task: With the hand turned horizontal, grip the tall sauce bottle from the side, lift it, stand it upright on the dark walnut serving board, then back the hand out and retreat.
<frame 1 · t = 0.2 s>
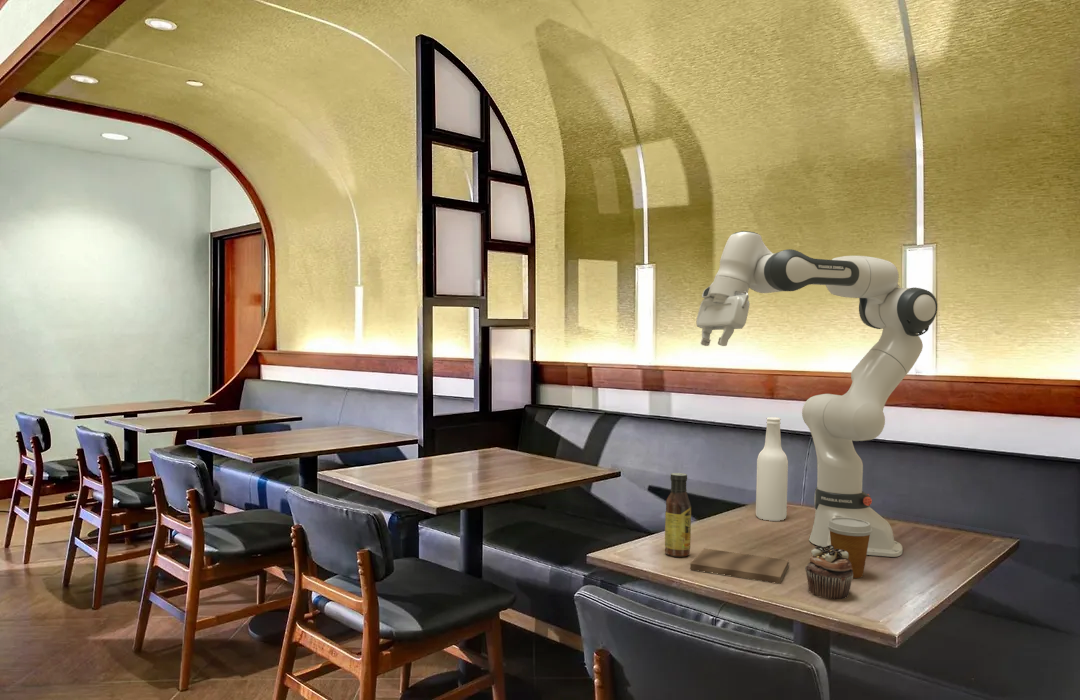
hand: (712, 345, 189), 52 cm above the table, tool tilted 15°, fingers open, 8 cm apart
walnut board: (740, 568, 177), on the table
alcohol: (770, 518, 227), on the table
cupcake: (828, 593, 162), on the table
sauce bottle: (677, 554, 188), on the table
disposable coffee cup: (848, 574, 175), on the table
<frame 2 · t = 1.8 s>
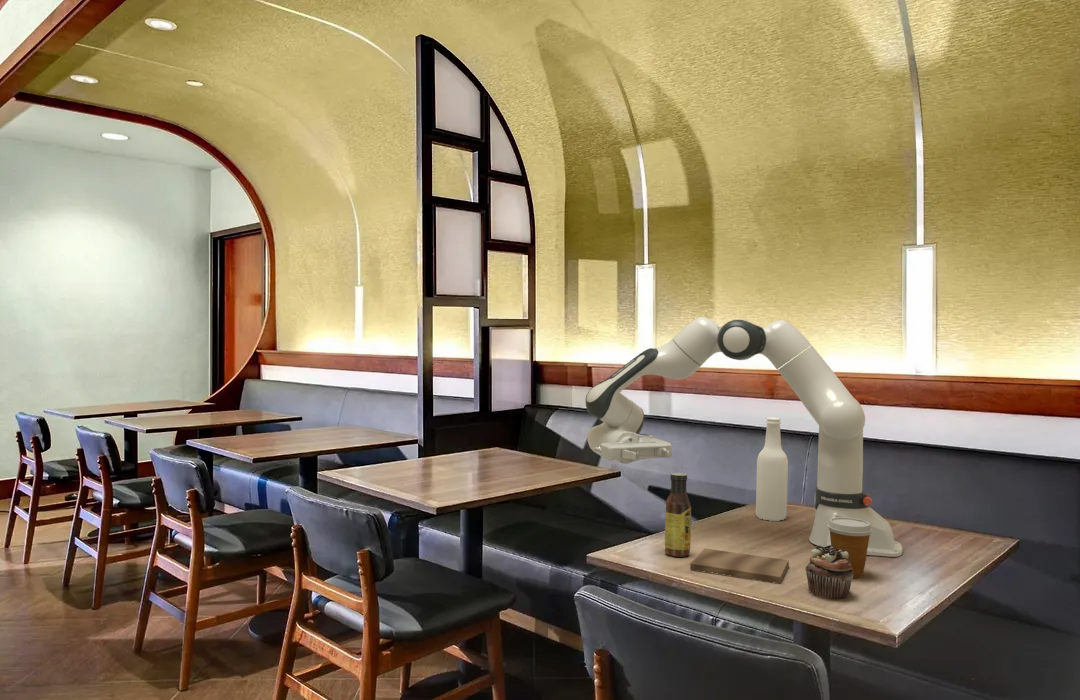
hand: (652, 455, 198), 23 cm above the table, tool horizontal, fingers open, 8 cm apart
nothing on the table moved.
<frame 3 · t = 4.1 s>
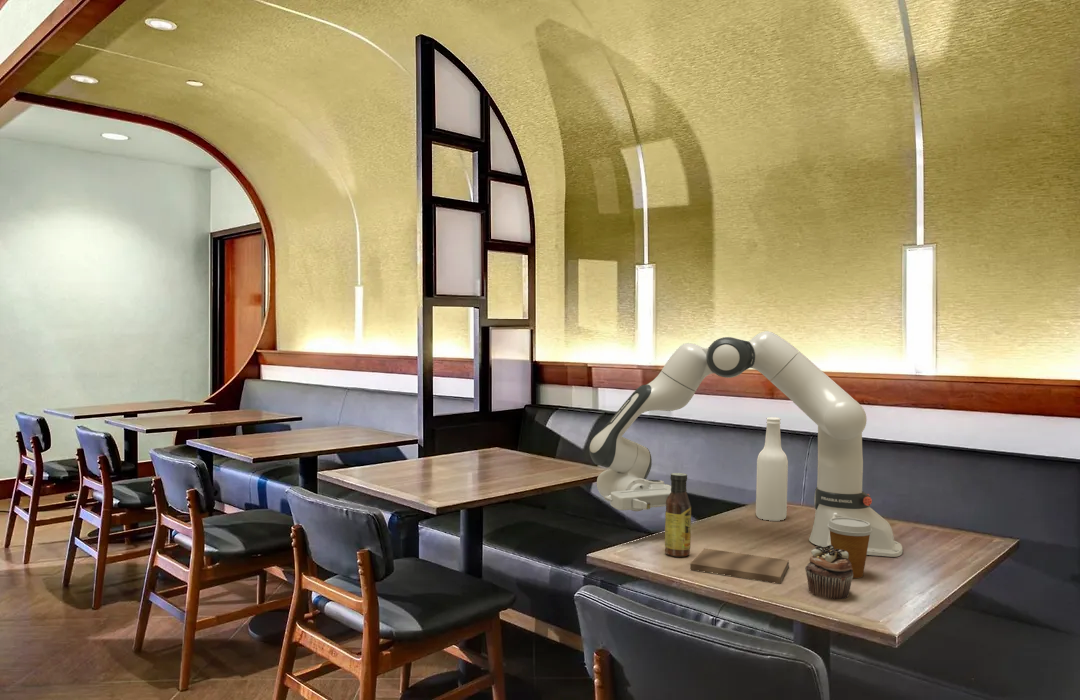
hand: (663, 504, 194), 11 cm above the table, tool horizontal, fingers open, 8 cm apart
nothing on the table moved.
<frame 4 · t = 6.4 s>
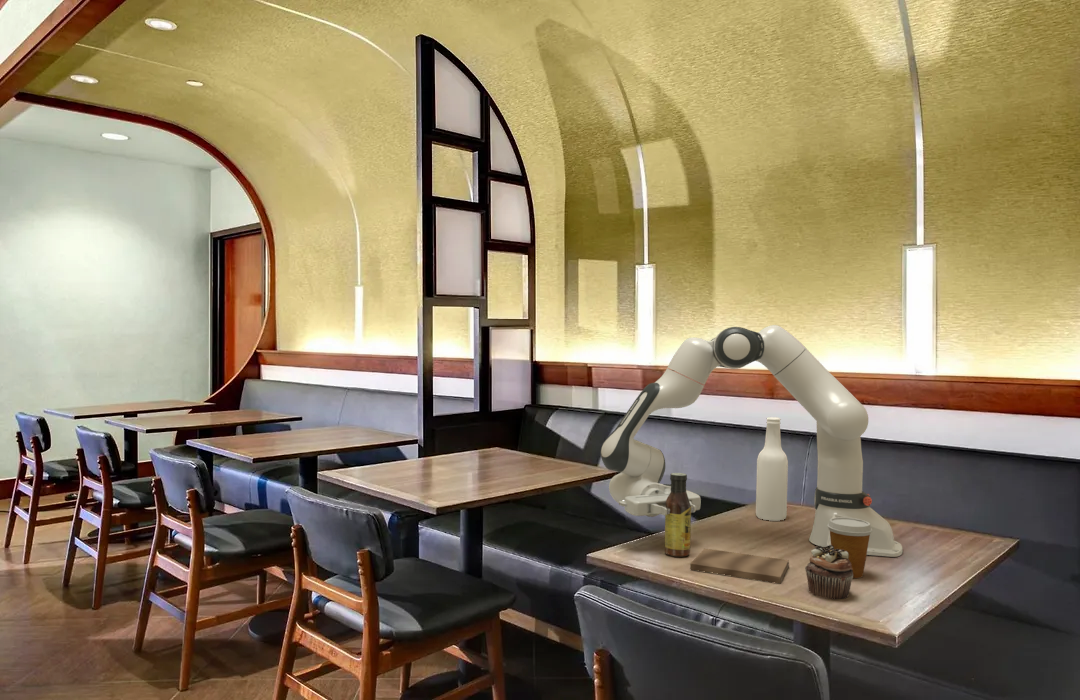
hand: (680, 510, 187), 11 cm above the table, tool horizontal, fingers closed on sauce bottle, 6 cm apart
sauce bottle: (677, 554, 188), on the table, touching gripper
everything else where it was.
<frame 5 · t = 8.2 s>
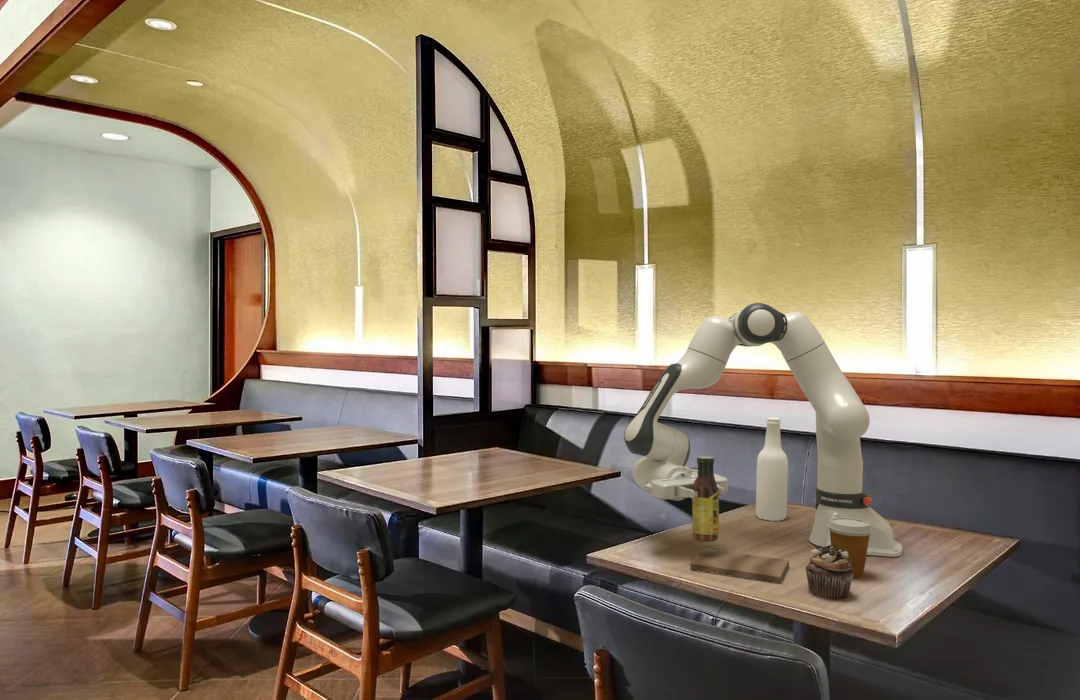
hand: (708, 493, 182), 16 cm above the table, tool horizontal, fingers closed on sauce bottle, 6 cm apart
sauce bottle: (705, 540, 183), point 5 cm above the table, touching gripper
everything else where it was.
when the fingers open (14 cm above the table, at t = 10.4 s): sauce bottle stays where it is, resting on walnut board.
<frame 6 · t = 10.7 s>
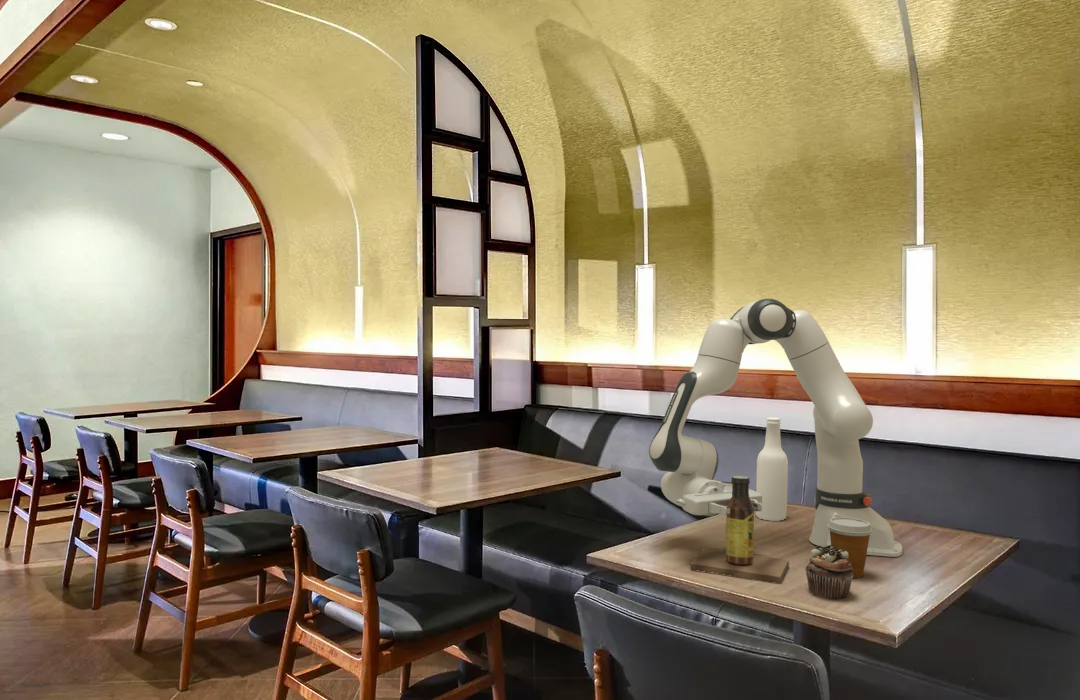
hand: (744, 509, 176), 14 cm above the table, tool horizontal, fingers open, 8 cm apart
sauce bottle: (739, 562, 177), point 1 cm above the table, touching walnut board
everything else where it was.
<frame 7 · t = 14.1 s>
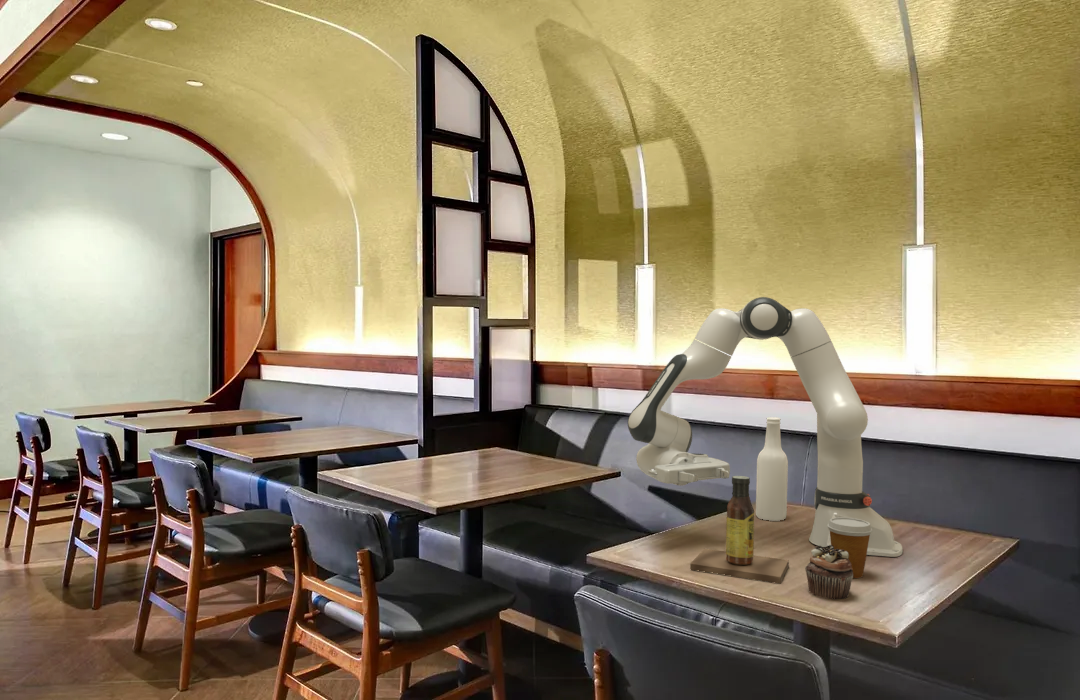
hand: (711, 476, 188), 19 cm above the table, tool horizontal, fingers open, 8 cm apart
nothing on the table moved.
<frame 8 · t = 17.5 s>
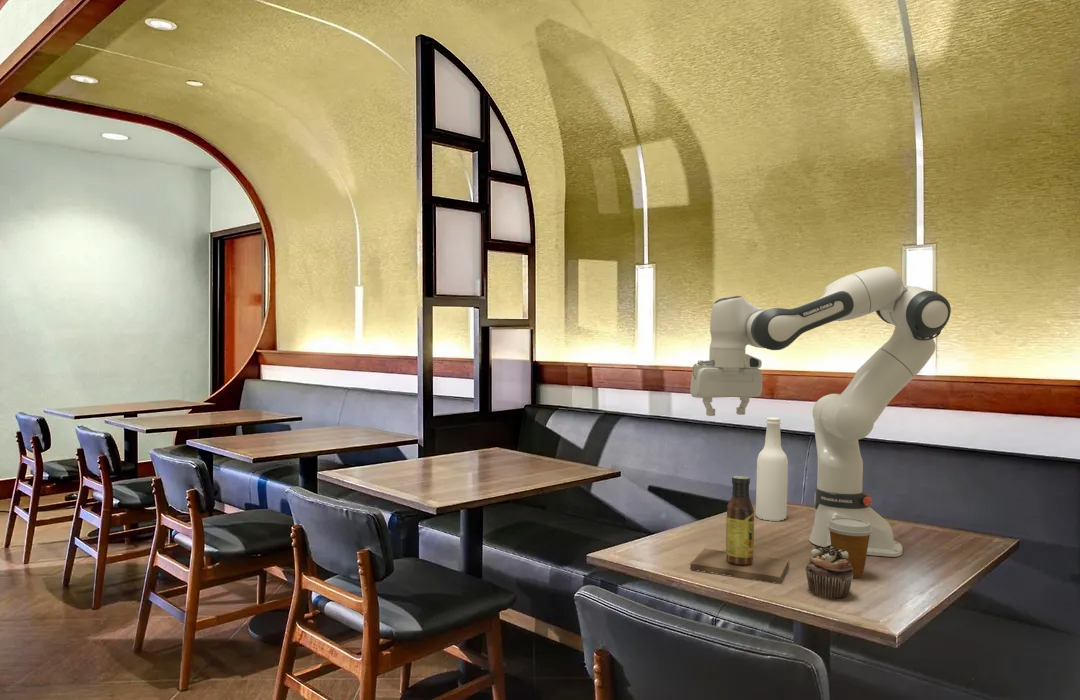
hand: (725, 415, 192), 34 cm above the table, tool pointing down, fingers open, 8 cm apart
nothing on the table moved.
at the end: sauce bottle inside the target area on the walnut board (0.4 cm from its centre), point 1.3 cm above the walnut board's base; sauce bottle tilted 0°; the gripper is holding nothing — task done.
